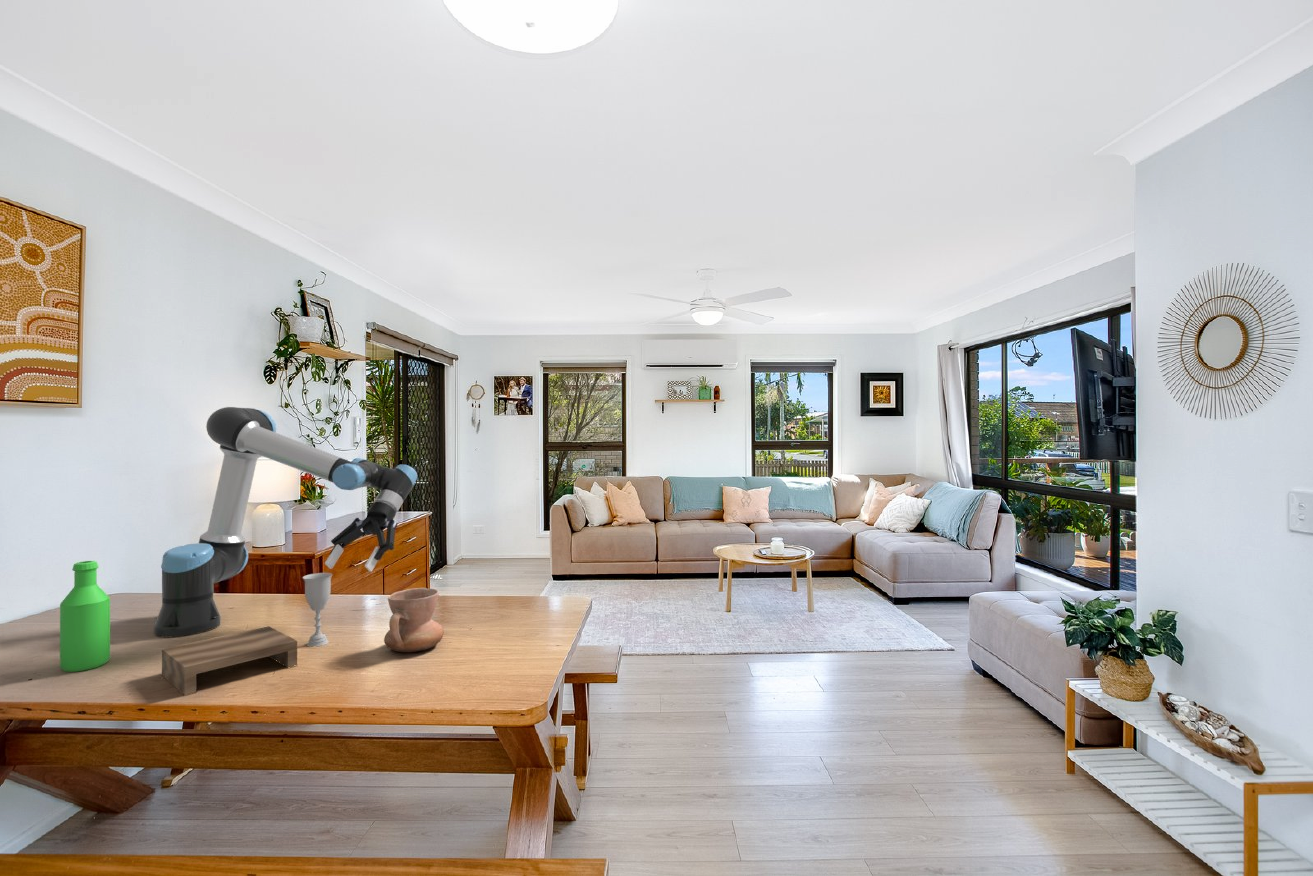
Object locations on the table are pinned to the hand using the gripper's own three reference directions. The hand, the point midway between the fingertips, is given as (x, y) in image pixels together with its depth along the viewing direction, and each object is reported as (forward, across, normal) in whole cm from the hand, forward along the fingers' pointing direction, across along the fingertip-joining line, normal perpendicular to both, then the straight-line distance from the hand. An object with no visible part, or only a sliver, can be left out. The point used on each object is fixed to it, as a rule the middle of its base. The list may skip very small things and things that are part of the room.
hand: (347, 567), depth 173 cm
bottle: (+40, +41, +14) cm, 59 cm away
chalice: (+20, 0, -6) cm, 21 cm away
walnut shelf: (+35, +5, +9) cm, 36 cm away
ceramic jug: (+18, -26, -8) cm, 33 cm away
